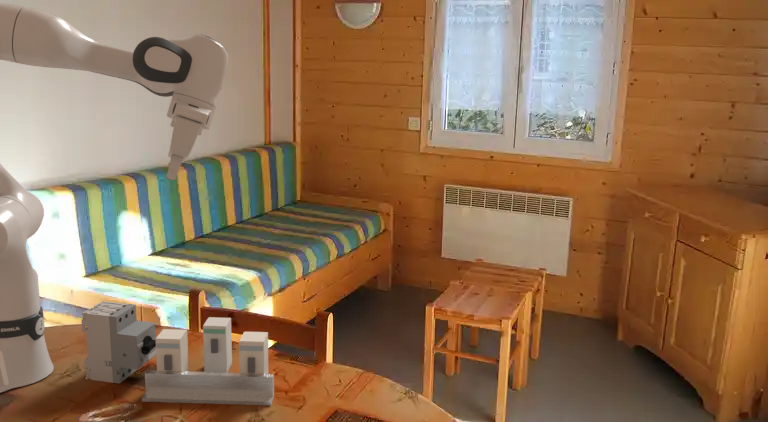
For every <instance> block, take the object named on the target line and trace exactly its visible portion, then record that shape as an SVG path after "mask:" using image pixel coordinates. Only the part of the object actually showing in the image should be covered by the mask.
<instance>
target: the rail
mask: <svg viewBox="0 0 768 422" xmlns="http://www.w3.org/2000/svg"><path fill="white" fill-rule="evenodd" d="M144 383H145V393H144V394H143V395H142V397H141V402H142V403H145V402H146V403H147V402H148V403H175V404H176V403H178V404H183V403H184V404H211V405H213V404H214V405H237V406H238V405H239V406H241V405H242V406H243V405H244V406H245V405H246V406H248V405H249V406H272V404H273V401H274V398H275V374H274V373H268V374H257V373H240V372H227V373H224V372H204V371H190V370H189V371H159V370H157V369H156V370H154V369H150V370H149V369H147V370H146V371H145V373H144Z"/></svg>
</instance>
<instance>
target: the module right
mask: <svg viewBox="0 0 768 422" xmlns="http://www.w3.org/2000/svg"><path fill="white" fill-rule="evenodd" d="M238 345H239V346H238V347H239V348H238V349H239V373H257V374H269V332H268V331H267V332H266V331H243V334H242V335H241V337H240V339H239V341H238Z"/></svg>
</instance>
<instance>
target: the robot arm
mask: <svg viewBox="0 0 768 422" xmlns="http://www.w3.org/2000/svg"><path fill="white" fill-rule="evenodd" d="M0 61H6V62H10V63H16V64H20V65H26V66H33V67H41V68H53V69H63V70H64V69H65V70H75V71H76V70H77V71H84V72H85V71H86V72H91V73H95V74H100V75H104V76H109V77H113V78H118V79H121V80H126V81H130V82H134V83H136V84H138V85H140V86H142V87H143V88H144V89H146V90H147V91H149V92H150V93H152V94H154V95H156V96H157V97H158V96H159V97H165V98H166V97H171V100H170V103H169V106H168V109H167V113H166V117H168V118H169V119H171V121H170V124H169V126H170V127H172V128H173V130H172V135H171V140H170V147H169V151H168V154H167V155H168V158H170V160H169V165H168V169H167V173H166V175H165V177H166V179H167V180H170V181H174V180H176V179H177V176H178V173H179V171H180V167H181V166H182V164H183V162H184V161H186V160H187V158H189V156H190V154H191V153H192V150H193V148H194V145H195V143H196V141H197V139H198V136H201V135H202V131H203V130H210V128H211V125H212V123H213V122H212V121H213V118H214V114H215V111H216V108H217V99H218V96H219V94H220V92H221V90H222V89H223V86H224V82H225V78H226V76H227V72H228V68H229V67H228V66H229V53H228V51H227V49H226V48H225V46H224V45H223V44H221V43H220V42H219V41H217V40H216V39H214V38H212V37H211V36H207V35H204V34H200V33H198V34H195V35H192V36H187V37H181V38H178V37H177V38H169V37H159V36H152V37H151V36H150V37H147V38H145V39H143V40H142V41H140V42H139V43H138V44H137V45H136V47H135V48H134V50H130V49H128V48H127V49H126V48H122V47H118V46H113V45H110V44H106V43H102V42H99V41H97V40H95V39H92V38H90V37H89V36H87V35H85V34H84V33H83V32H81V31H79V30H78V29H77V28H76V27H74V26H73V25H72V24H70V23H69V22H68V21H66V20H65V19H63V18H61V17H59V16H56V15H55V14H52V13H49V12H47V11H44V10H41V9H36V8H32V7H28V6H24V5H19V4H13V3H5V2H0ZM44 210H45V209H44V206H43V204H42V201H41V200H40V199H39V197H37V196H36V195H35V194H33V193H32V192H29V191H27V190H26V188H24V187H23V186H22V185H21V184H20V182H19V181H18V180H16V179H15V178H14V176H13V175H12V174H11V173H10V172H9V171H8V170H7V169H6V168H5V167H4V166H3V164H1V163H0V394H1V393H3V392H6V391H9V390H11V389H15V388H19V387H25V386H28V385H31V384H34V383H37V382H39V381H41V380H44V379H45V378H46V377H48V376H50V375H51V374H52V372H53V371H54V368H55V366H54V363H53V362H52V359H51V357H50V354H49V350H48V347H47V343H46V340H45V339H46V338H45V318H44V308H43V307H42V306H41V301H40V300H41V299H40V287H39V286H40V285H39V275H38V273H37V270H35V269H34V268H33V265H32V263H31V260H30V258H29V257H30V256H29V254H28V251H27V241H28V239H30V238H32V237H33V235H35V234H36V233H37V232H38V231H39V229H40V227H41V226H42V222H43V219H44V216H45V211H44Z"/></svg>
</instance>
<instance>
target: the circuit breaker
mask: <svg viewBox="0 0 768 422" xmlns="http://www.w3.org/2000/svg"><path fill="white" fill-rule="evenodd" d="M81 316H82V319H81V332H82V333H85V335H86V338H85V339H86V349H87V351H86V353H87V357H85V358H84V359H83V361H84V373H85V374H86V377H85V380H89V379H90V380H91V381H97V382H106V383H113V384H121V383H122V382H123V381H125V380H126V379H127V378H128V377H130V376H131V375H133V374H134V373H135V372H136V371H137V370H139V369H140V368H142V367H143V366H144V365H146V364H147V362H150V360H152V359H153V358H155V356H156V337H157V336H156V335H157V334H156V333H157V332H156V322H150V321H142V320H137V306H136V304H134V303H124V302H114V301H104V300H102V301H100V302H99V303H97V304H96V305H95V304H94V306H93V307H90V308H88V309H87V310H85V311H83V312H81ZM88 368H89V369H88Z"/></svg>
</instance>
